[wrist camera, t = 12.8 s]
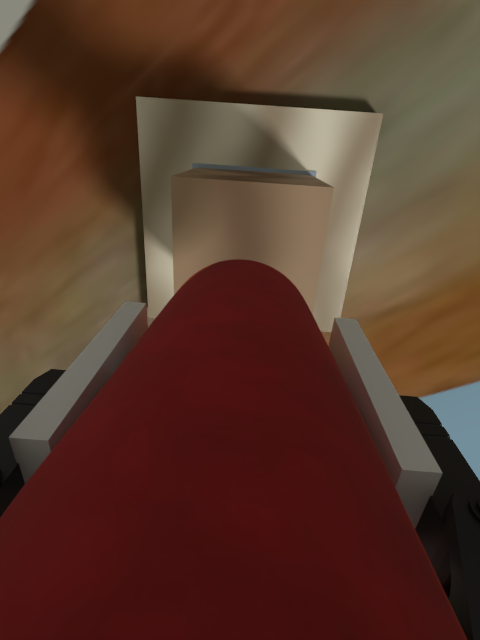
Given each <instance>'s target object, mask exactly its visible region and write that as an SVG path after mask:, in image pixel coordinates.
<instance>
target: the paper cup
mask: <svg viewBox="0 0 480 640" xmlns="http://www.w3.org/2000/svg"><path fill="white" fill-rule="evenodd" d="M0 640H467V638H466V636H465V634H464V631H463V629H462V627H461V625H460V623H459V621H458V619H457V617H456V615H455V612H454V610H453V608H452V606H451V604H450V602H449V600H448V598H447V596H446V593H445V591H444V589H443V587H442V585H441V583H440V581H439V579H438V577H437V574H436V572H435V570H434V568H433V566H432V564H431V562H430V560H429V558H428V556H427V553H426V551H425V549H424V547H423V545H422V543H421V541H420V539H419V537H418V534H417V532H416V530H415V528H414V526H413V524H412V522H411V520H410V518H409V515H408V513H407V511H406V509H405V507H404V505H403V503H402V501H401V499H400V496H399V494H398V492H397V490H396V488H395V486H394V484H393V482H392V480H391V477H390V475H389V473H388V471H387V469H386V467H385V465H384V463H383V461H382V458H381V456H380V454H379V452H378V450H377V448H376V446H375V444H374V441H373V439H372V437H371V435H370V433H369V431H368V429H367V427H366V425H365V422H364V420H363V418H362V416H361V414H360V412H359V410H358V408H357V406H356V403H355V401H354V399H353V397H352V395H351V393H350V391H349V389H348V387H347V385H346V383H345V380H344V378H343V376H342V374H341V372H340V370H339V368H338V366H337V364H336V362H335V360H334V357H333V355H332V353H331V351H330V349H329V347H328V345H327V343H326V341H325V339H324V337H323V335H322V333H321V331H320V329H319V327H318V325H317V322H316V320H315V318H314V316H313V314H312V313H311V311H310V309H309V307H308V305H307V303H306V301H305V300H304V298H303V296H302V295H301V293H300V292H299V290H298V289H297V287H296V286H295V285H294V284H293V283H292V282H291V281H290V280H289V279H288V278H287V277H286V276H285V275H284V274H282V273H281V272H279V271H278V270H276V269H274V268H273V267H271V266H268V265H266V264H263V263H260V262H256V261H252V260H244V259H233V260H225V261H220V262H217V263H214V264H211V265H209V266H207V267H205V268H203V269H201V270H200V271H198V272H197V273H195V274H194V275H193V276H191V277H190V278H189V279H188V280H187V281H186V282H185V283H184V284H183V285H182V286H181V287H180V289H179V290H178V291H177V292H176V293H175V295H174V296H173V297H172V298H171V299H170V301H169V302H168V303H167V304H166V306H165V307H164V308H163V309H162V311H161V312H160V313H159V315H158V316H157V317H156V318H155V320H154V321H153V322H152V324H151V325H150V326H149V327H148V329H147V330H146V331H145V333H144V334H143V335H142V337H141V338H140V339H139V341H138V342H137V343H136V344H135V346H134V347H133V348H132V350H131V351H130V352H129V354H128V355H127V356H126V358H125V359H124V360H123V361H122V363H121V364H120V365H119V367H118V368H117V369H116V371H115V372H114V373H113V375H112V376H111V377H110V378H109V380H108V381H107V382H106V383H105V385H104V386H103V387H102V388H101V390H100V391H99V392H98V393H97V395H96V396H95V397H94V398H93V400H92V401H91V402H90V403H89V405H88V406H87V407H86V408H85V410H84V411H83V412H82V413H81V415H80V416H79V417H78V419H77V420H76V421H75V422H74V424H73V425H72V426H71V427H70V429H69V430H68V431H67V432H66V434H65V435H64V436H63V437H62V439H61V440H60V441H59V442H58V444H57V445H56V446H55V447H54V449H53V450H52V451H51V452H50V454H49V455H48V456H47V457H46V459H45V460H44V461H43V462H42V464H41V465H40V466H39V467H38V469H37V470H36V471H35V472H34V474H33V475H32V476H31V477H30V479H29V480H28V481H27V482H26V484H25V485H24V486H23V487H22V489H21V490H20V491H19V493H18V494H17V495H16V497H15V498H14V499H13V501H12V502H11V504H10V505H9V506H8V508H7V509H6V510H5V512H4V513H3V514H2V516H1V517H0Z"/></svg>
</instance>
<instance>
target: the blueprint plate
mask: <svg viewBox="0 0 480 640" xmlns="http://www.w3.org/2000/svg"><path fill="white" fill-rule="evenodd" d="M136 107H137V125H138V142H139V159H140V176H141V194H142V211H143V228H144V245H145V263H146V280H147V297H148V315H149V318H156V317H157V316H158V315H159V313H160V312H161V311H162V309H163V308H164V307H165V306H166V304H167V303H168V302H169V301H170V299H171V298H172V297H173V296H174V278H173V238H172V199H171V176H173V175H176V174H179V173H182V172H185V171H188V170H191V169H194V168H211V169H225V170H240V171H255V172H269V173H284V174H299V175H312V176H314V177H316V178H318V179H319V180H321V181H323V182H325V183H327V184H329V185H330V186H332V187H334V191H333V197H332V203H331V209H330V215H329V221H328V227H327V233H326V239H325V245H324V251H323V257H322V263H321V269H320V275H319V280H318V286H317V292H316V298H315V304H314V310H313V316H314V318H315V320H316V322H317V325H318V327H319V329H320V331H325V332H332V327H333V322H334V317H335V318H340V316H341V312H342V307H343V302H344V297H345V293H346V288H347V283H348V279H349V274H350V269H351V264H352V260H353V255H354V250H355V245H356V241H357V236H358V231H359V226H360V222H361V217H362V212H363V207H364V203H365V198H366V193H367V189H368V184H369V179H370V174H371V170H372V165H373V160H374V155H375V151H376V146H377V141H378V136H379V132H380V127H381V122H382V117H383V113H369V112H354V111H340V110H325V109H311V108H296V107H282V106H267V105H253V104H238V103H224V102H209V101H195V100H180V99H166V98H151V97H137V96H136Z"/></svg>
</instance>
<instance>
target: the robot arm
mask: <svg viewBox="0 0 480 640" xmlns="http://www.w3.org/2000/svg"><path fill="white" fill-rule="evenodd" d="M147 329H148V324H147V308H146V303H139V302H124V303H123V305H122V306H121V307H120V308H119V309H118V310H117V312H116V313H115V314H114V315H113V316H112V317H111V319H110V320H109V321H108V322H107V323H106V324H105V326H104V327H103V328H102V329H101V330H100V331H99V333H98V334H97V335H96V336H95V337H94V338H93V340H92V341H91V342H90V343H89V344H88V345H87V347H86V348H85V349H84V350H83V351H82V352H81V354H80V355H79V356H78V357H77V358H76V359H75V361H74V362H73V363H72V364H71V365H70V366H69V368H68V369H67V370H56V369H51V370H49V371H48V372H46V373H44V374H42V375H41V376H39V377H37V378H36V379H34V380H33V381H32V382H31V383H30V384H29V385H28V386H27V387H26V388H25V389H24V390H23V391H22V394H20V395H19V396H18V397H17V398H16V399H15V400H14V401H13V402H12V405H9V406H8V407H7V408H6V409H5V410H4V411H3V412H2V413H1V414H0V517H1V516H2V514H3V513H4V512H5V510H6V509H7V508H8V506H9V505H10V504H11V502H12V501H13V499H14V498H15V497H16V495H17V494H18V493H19V491H20V490H21V489H22V487H23V486H24V485H25V484H26V482H27V481H28V480H29V479H30V477H31V476H32V475H33V474H34V472H35V471H36V470H37V469H38V467H39V466H40V465H41V464H42V462H43V461H44V460H45V459H46V457H47V456H48V455H49V454H50V452H51V451H52V450H53V449H54V447H55V446H56V445H57V444H58V442H59V441H60V440H61V439H62V437H63V436H64V435H65V434H66V432H67V431H68V430H69V429H70V427H71V426H72V425H73V424H74V422H75V421H76V420H77V419H78V417H79V416H80V415H81V413H82V412H83V411H84V410H85V408H86V407H87V406H88V405H89V403H90V402H91V401H92V400H93V398H94V397H95V396H96V395H97V393H98V392H99V391H100V390H101V388H102V387H103V386H104V385H105V383H106V382H107V381H108V380H109V378H110V377H111V376H112V375H113V373H114V372H115V371H116V369H117V368H118V367H119V365H120V364H121V363H122V361H123V360H124V359H125V358H126V356H127V355H128V354H129V352H130V351H131V350H132V348H133V347H134V346H135V344H136V343H137V342H138V341H139V339H140V338H141V337H142V335H143V334H144V333H145V331H146V330H147ZM329 349H330V351H331V353H332V355H333V357H334V360H335V362H336V364H337V366H338V368H339V370H340V372H341V374H342V376H343V378H344V380H345V383H346V385H347V387H348V389H349V391H350V393H351V395H352V397H353V399H354V401H355V403H356V406H357V408H358V410H359V412H360V414H361V416H362V418H363V420H364V422H365V425H366V427H367V429H368V431H369V433H370V435H371V437H372V439H373V441H374V444H375V446H376V448H377V450H378V452H379V454H380V456H381V458H382V461H383V463H384V465H385V467H386V469H387V471H388V473H389V475H390V477H391V480H392V482H393V484H394V486H395V488H396V490H397V492H398V494H399V496H400V499H401V501H402V503H403V505H404V507H405V509H406V511H407V513H408V515H409V518H410V520H411V522H412V524H413V526H414V528H415V530H416V532H417V534H418V537H419V539H420V541H421V543H422V545H423V547H424V549H425V551H426V553H427V556H428V558H429V560H430V562H431V564H432V566H433V568H434V570H435V572H436V574H437V577H438V579H439V581H440V583H441V585H442V587H443V589H444V591H445V593H446V596H447V598H448V600H449V602H450V604H451V606H452V608H453V610H454V612H455V615H456V617H457V619H458V621H459V623H460V625H461V627H462V629H463V631H464V634H465V636H466V638H467V640H480V481H479V480H478V478H477V477H476V475H475V473H474V472H473V470H472V469H471V468H470V466H469V465H468V463H467V461H466V460H465V458H464V457H463V455H462V454H461V452H460V451H459V449H458V448H457V446H456V445H455V443H454V442H453V440H451V439H450V436H449V434H448V433H447V431H446V430H445V428H444V427H442V424H441V422H440V421H439V419H438V418H437V416H436V414H435V413H434V411H433V410H432V409H431V408H430V407H428V406H427V405H426V404H425V403H424V402H422V401H421V400H420V399H419V398H418V397H412V396H400V395H398V393H397V391H396V389H395V388H394V386H393V384H392V382H391V381H390V379H389V377H388V375H387V373H386V372H385V370H384V368H383V366H382V365H381V363H380V361H379V359H378V357H377V356H376V354H375V352H374V350H373V349H372V347H371V345H370V343H369V342H368V340H367V338H366V336H365V334H364V333H363V331H362V329H361V327H360V326H359V324H358V322H357V320H356V319H348V318H335V317H334V322H333V327H332V332H331V337H330V342H329Z"/></svg>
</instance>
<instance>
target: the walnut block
mask: <svg viewBox="0 0 480 640" xmlns="http://www.w3.org/2000/svg"><path fill="white" fill-rule="evenodd" d="M333 191H334V187H332V186H330V185H329V184H327V183H325V182H323V181H321V180H319V179H318V178H316V177H314V176H312V175H299V174H284V173H269V172H255V171H240V170H225V169H211V168H194V169H191V170H188V171H185V172H182V173H179V174H176V175H173V176H171V199H172V238H173V278H174V295H175V293H176V292H177V291H178V290H179V289H180V287H181V286H182V285H183V284H184V283H185V282H186V281H187V280H188V279H189V278H190V277H191V276H193V275H194V274H195V273H197V272H198V271H200V270H201V269H203V268H205V267H207V266H209V265H211V264H214V263H217V262H220V261H225V260H233V259H244V260H252V261H256V262H260V263H263V264H266V265H268V266H271V267H273V268H274V269H276V270H278V271H279V272H281V273H282V274H284V275H285V276H286V277H287V278H288V279H289V280H290V281H291V282H292V283H293V284H294V285H295V286H296V287H297V289H298V290H299V292H300V293H301V295H302V296H303V298H304V300H305V301H306V303H307V305H308V307H309V309H310V311H311V313H312V314H313V310H314V304H315V298H316V292H317V286H318V280H319V275H320V269H321V263H322V257H323V251H324V245H325V239H326V233H327V227H328V221H329V215H330V209H331V203H332V197H333Z"/></svg>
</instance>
